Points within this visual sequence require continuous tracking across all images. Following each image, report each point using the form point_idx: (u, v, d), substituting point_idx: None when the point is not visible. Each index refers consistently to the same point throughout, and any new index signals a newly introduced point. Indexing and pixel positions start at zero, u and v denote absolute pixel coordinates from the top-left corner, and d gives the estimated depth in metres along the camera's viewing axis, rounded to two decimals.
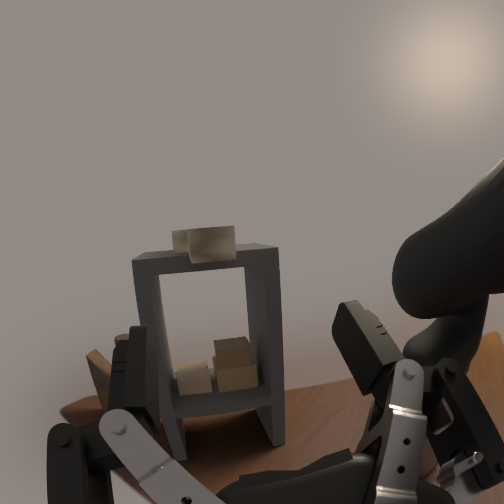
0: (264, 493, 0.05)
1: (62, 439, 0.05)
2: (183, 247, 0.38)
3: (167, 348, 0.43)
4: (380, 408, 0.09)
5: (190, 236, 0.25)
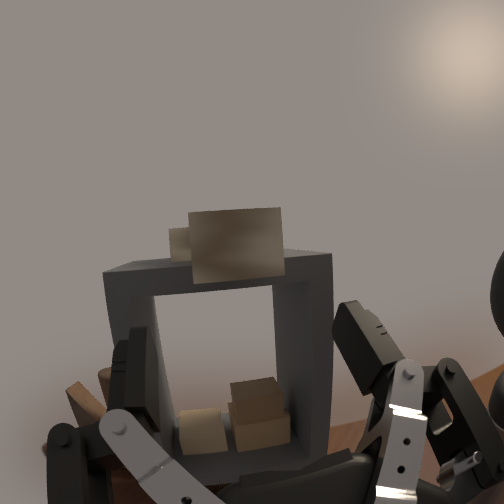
0: (264, 493, 0.05)
1: (62, 439, 0.05)
2: (186, 253, 0.26)
3: (166, 391, 0.30)
4: (380, 408, 0.09)
5: (191, 227, 0.12)
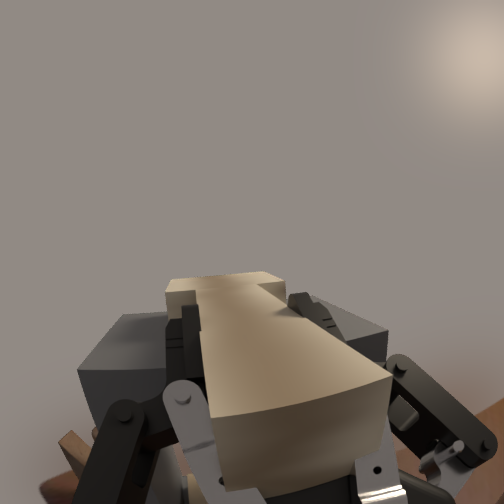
0: None
1: (124, 415, 0.07)
2: None
3: (171, 459, 0.22)
4: None
5: (219, 441, 0.05)
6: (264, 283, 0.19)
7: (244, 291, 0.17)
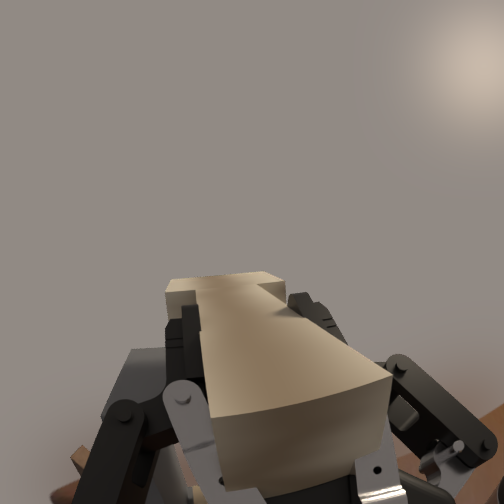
0: None
1: (124, 415, 0.07)
2: None
3: (178, 474, 0.24)
4: None
5: (219, 440, 0.05)
6: (264, 283, 0.19)
7: (244, 291, 0.17)
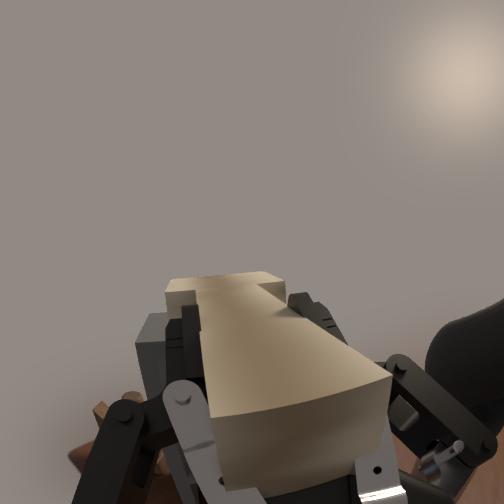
0: None
1: (124, 415, 0.07)
2: None
3: None
4: None
5: (219, 440, 0.05)
6: (264, 283, 0.19)
7: (244, 291, 0.17)
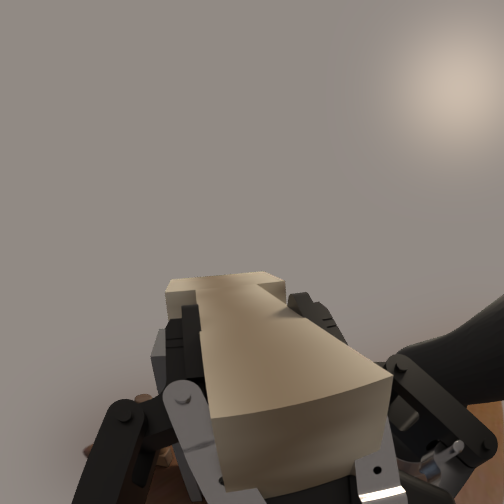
0: None
1: (124, 415, 0.07)
2: None
3: None
4: None
5: (219, 441, 0.05)
6: (264, 283, 0.19)
7: (244, 291, 0.17)
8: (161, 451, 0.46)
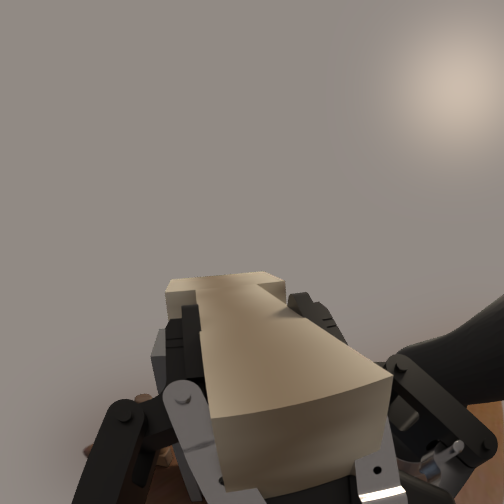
0: None
1: (124, 415, 0.07)
2: None
3: None
4: None
5: (219, 441, 0.05)
6: (264, 283, 0.19)
7: (244, 291, 0.17)
8: (161, 451, 0.46)
